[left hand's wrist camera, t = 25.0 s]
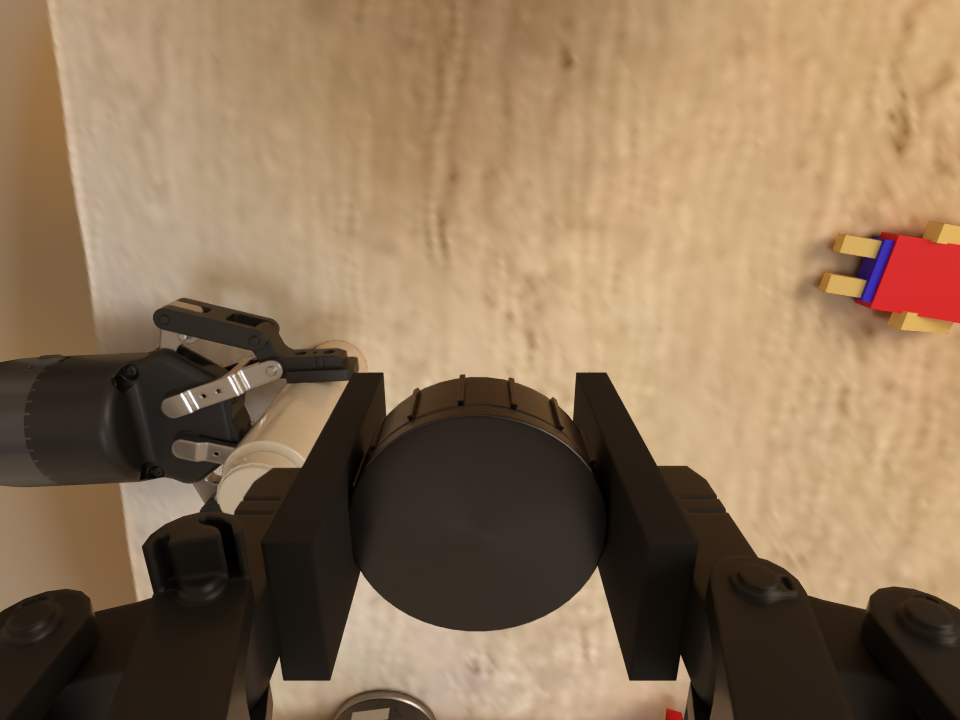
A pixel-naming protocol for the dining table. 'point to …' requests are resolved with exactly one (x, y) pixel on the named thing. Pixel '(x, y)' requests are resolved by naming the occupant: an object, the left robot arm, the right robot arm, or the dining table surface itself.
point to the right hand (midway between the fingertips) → (359, 406)
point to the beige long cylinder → (282, 432)
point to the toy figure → (905, 277)
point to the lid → (477, 506)
